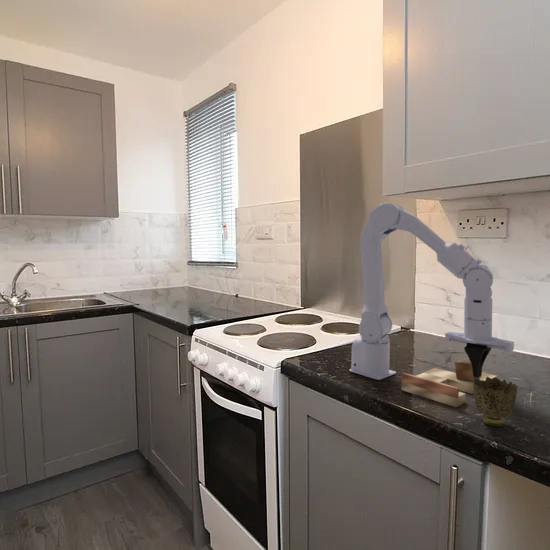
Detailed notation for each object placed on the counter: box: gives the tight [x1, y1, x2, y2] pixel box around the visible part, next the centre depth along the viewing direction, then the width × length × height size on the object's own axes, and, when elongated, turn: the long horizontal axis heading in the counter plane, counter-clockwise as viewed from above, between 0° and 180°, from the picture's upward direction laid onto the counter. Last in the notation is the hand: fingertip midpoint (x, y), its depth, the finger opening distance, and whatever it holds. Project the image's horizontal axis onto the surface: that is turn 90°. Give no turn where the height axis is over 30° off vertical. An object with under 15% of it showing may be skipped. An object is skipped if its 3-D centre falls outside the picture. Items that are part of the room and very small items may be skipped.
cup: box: [473, 376, 518, 427], centre depth 76 cm, size 8×7×8 cm
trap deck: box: [401, 367, 498, 408], centre depth 96 cm, size 13×21×4 cm, turn 130°
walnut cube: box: [454, 358, 481, 381], centre depth 95 cm, size 4×4×4 cm
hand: (477, 376), depth 93 cm, fingers closed, pressing on walnut cube
